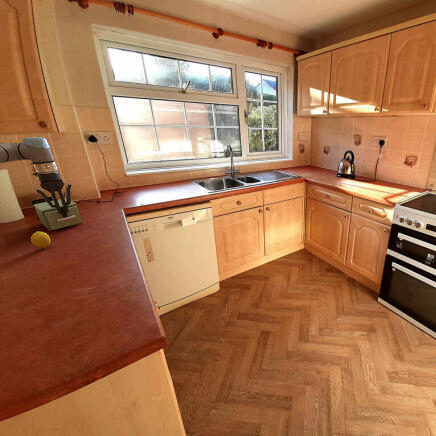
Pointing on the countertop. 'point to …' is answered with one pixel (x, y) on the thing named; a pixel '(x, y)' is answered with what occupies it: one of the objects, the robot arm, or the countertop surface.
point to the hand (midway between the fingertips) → (66, 219)
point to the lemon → (40, 240)
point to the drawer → (58, 220)
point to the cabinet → (45, 207)
